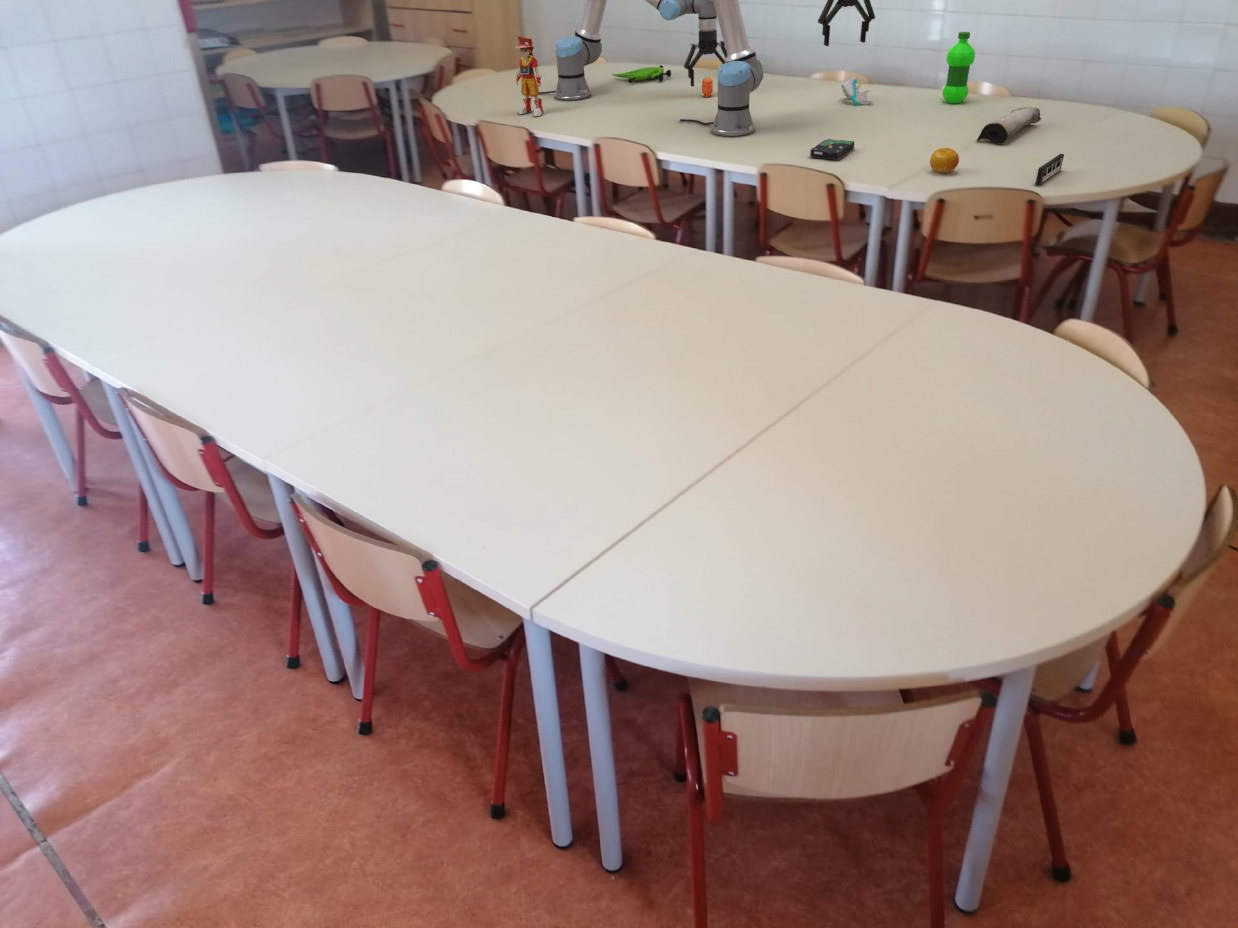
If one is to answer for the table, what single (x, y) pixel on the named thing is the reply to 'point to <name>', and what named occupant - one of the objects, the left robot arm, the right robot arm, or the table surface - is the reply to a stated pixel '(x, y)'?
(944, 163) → the fruit
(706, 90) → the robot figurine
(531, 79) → the toy
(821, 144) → the disk drive
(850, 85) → the anatomical model
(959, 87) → the plastic bottle
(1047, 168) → the midi keyboard
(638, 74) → the toy
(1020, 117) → the rolled mat
